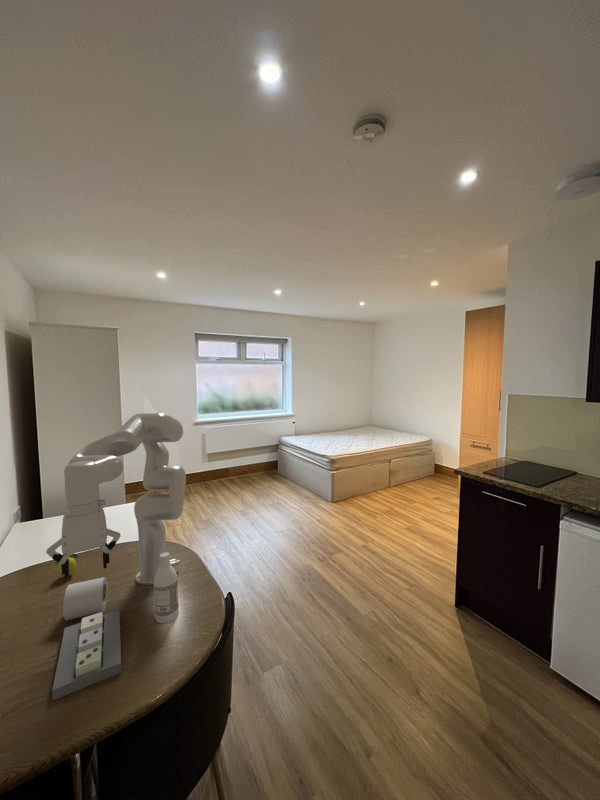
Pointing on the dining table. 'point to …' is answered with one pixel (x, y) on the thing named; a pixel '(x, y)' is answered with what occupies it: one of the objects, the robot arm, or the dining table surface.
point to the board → (69, 650)
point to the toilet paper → (85, 598)
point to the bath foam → (165, 591)
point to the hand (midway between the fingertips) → (86, 570)
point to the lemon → (71, 564)
